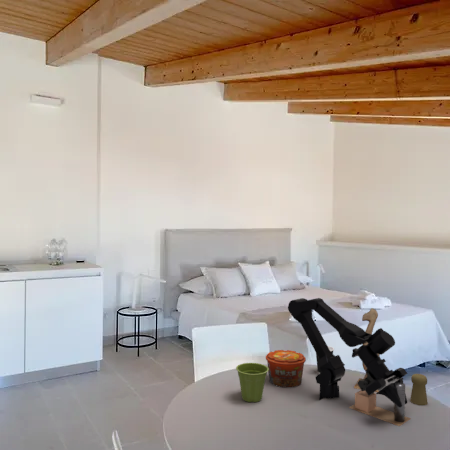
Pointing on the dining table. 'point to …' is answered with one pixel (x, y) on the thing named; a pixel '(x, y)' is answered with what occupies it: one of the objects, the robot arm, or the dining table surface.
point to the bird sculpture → (370, 317)
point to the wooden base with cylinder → (388, 416)
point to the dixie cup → (318, 359)
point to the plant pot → (252, 380)
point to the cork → (419, 389)
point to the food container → (285, 368)
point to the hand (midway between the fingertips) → (403, 405)
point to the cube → (365, 401)
